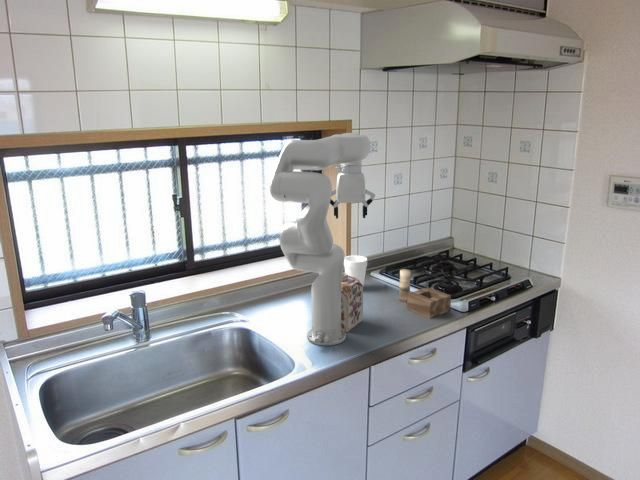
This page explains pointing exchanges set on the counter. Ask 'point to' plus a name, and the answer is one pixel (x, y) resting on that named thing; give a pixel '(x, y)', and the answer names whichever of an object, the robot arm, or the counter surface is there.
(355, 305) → the decorative jar
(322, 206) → the robot arm
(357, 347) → the counter surface
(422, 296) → the socket block
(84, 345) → the counter surface
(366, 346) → the counter surface
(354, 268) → the foam cup
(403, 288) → the beech dowel
